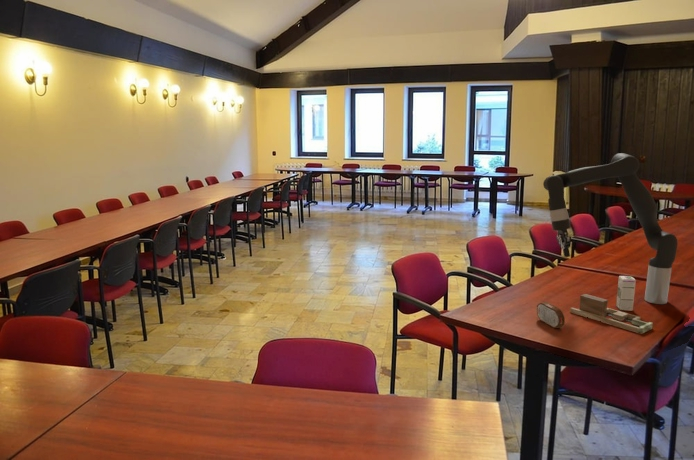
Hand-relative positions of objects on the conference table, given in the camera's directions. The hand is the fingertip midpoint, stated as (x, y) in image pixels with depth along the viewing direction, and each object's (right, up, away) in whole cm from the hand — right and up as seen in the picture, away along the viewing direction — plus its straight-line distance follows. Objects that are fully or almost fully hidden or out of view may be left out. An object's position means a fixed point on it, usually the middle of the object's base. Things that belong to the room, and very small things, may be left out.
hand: (567, 256), depth 238 cm
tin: (-15, -27, -19) cm, 37 cm away
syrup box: (+26, -24, 0) cm, 35 cm away
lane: (+14, -26, -13) cm, 32 cm away
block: (+8, -25, -8) cm, 27 cm away
